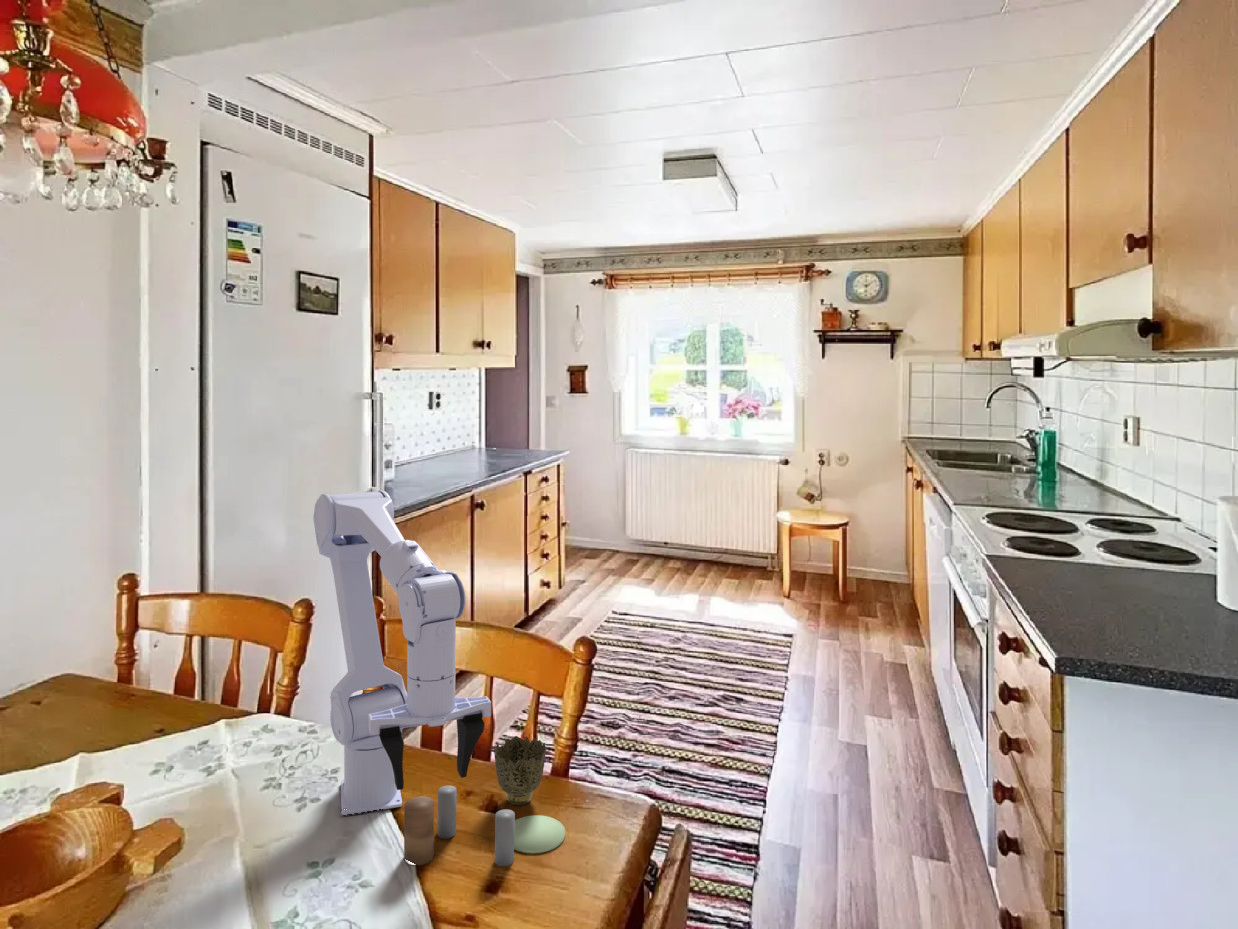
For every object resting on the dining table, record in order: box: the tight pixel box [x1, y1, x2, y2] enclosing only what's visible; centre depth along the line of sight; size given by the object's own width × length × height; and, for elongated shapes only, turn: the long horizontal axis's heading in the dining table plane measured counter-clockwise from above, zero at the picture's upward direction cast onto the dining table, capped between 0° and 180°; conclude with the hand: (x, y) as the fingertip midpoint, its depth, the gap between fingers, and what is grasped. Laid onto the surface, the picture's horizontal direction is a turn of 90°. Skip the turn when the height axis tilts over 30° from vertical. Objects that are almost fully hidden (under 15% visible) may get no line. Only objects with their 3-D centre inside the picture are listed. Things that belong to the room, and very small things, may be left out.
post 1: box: [436, 784, 458, 840], centre depth 98 cm, size 2×2×6 cm
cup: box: [493, 735, 548, 806], centre depth 107 cm, size 8×7×8 cm
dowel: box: [403, 795, 435, 867], centre depth 93 cm, size 4×4×7 cm
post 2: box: [494, 808, 516, 867], centre depth 93 cm, size 2×2×6 cm
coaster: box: [514, 814, 566, 854], centre depth 99 cm, size 8×8×1 cm
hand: (431, 779), depth 92 cm, fingers open, 7 cm apart
